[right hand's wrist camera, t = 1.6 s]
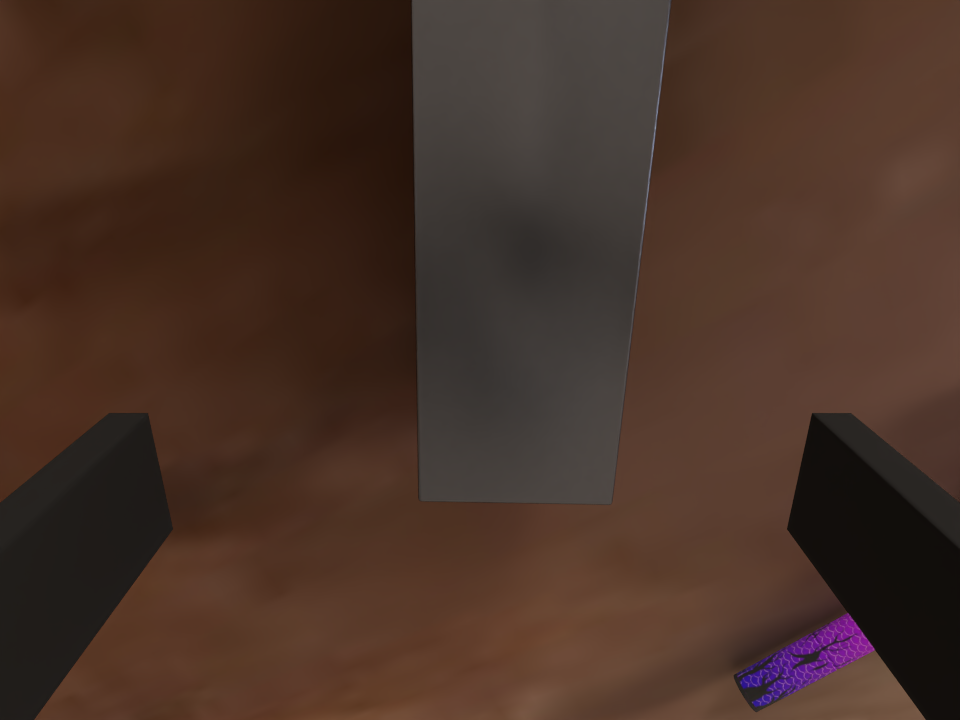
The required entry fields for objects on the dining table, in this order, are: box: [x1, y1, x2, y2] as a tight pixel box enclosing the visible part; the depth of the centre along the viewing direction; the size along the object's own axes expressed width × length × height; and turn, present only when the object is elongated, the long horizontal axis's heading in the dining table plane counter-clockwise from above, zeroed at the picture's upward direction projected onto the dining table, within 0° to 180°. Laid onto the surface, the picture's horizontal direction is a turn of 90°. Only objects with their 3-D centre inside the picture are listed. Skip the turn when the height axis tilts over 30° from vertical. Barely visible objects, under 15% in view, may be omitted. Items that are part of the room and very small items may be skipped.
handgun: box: [734, 613, 875, 712], centre depth 29 cm, size 21×8×2 cm, turn 130°
